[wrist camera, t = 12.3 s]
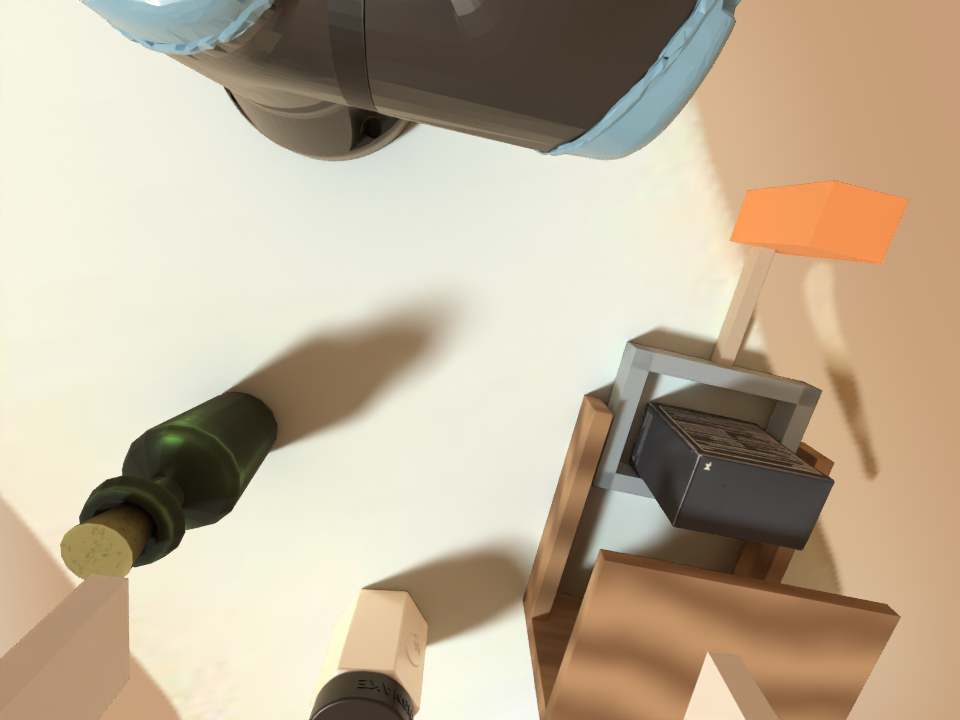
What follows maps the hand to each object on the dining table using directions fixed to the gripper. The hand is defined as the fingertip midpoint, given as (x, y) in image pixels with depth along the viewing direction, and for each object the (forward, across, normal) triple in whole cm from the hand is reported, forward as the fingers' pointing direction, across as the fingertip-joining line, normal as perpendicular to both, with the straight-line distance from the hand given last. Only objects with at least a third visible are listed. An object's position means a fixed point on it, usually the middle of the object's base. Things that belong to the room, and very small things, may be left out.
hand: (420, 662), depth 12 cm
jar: (+33, -3, -30) cm, 44 cm away
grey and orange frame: (+33, +23, +2) cm, 40 cm away
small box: (+33, +23, -6) cm, 41 cm away
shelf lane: (+33, +22, -15) cm, 42 cm away
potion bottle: (+33, -18, -11) cm, 39 cm away
